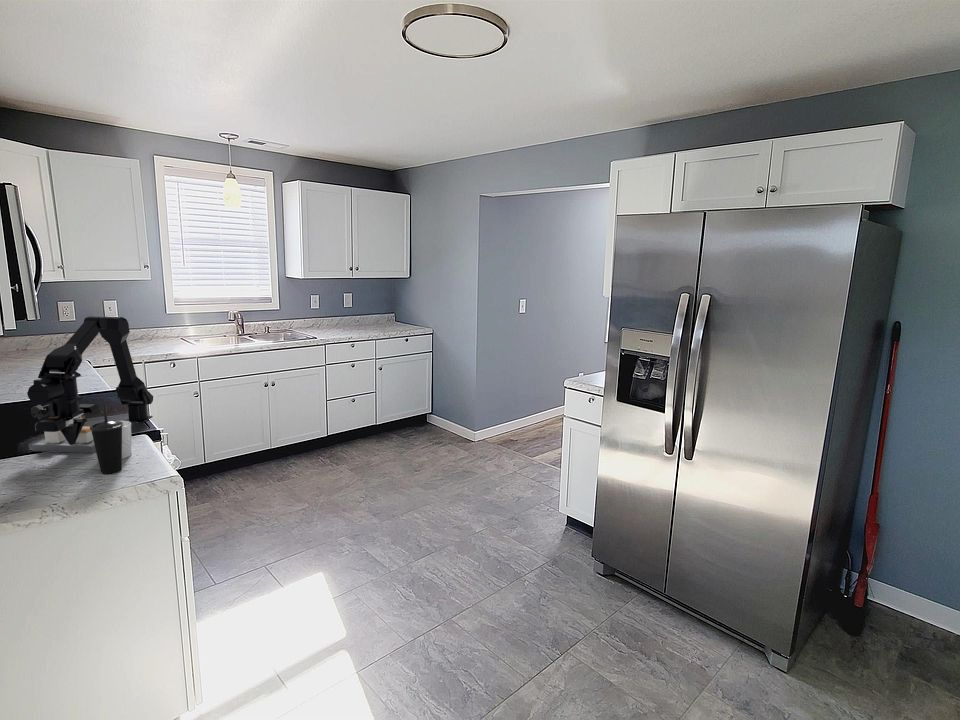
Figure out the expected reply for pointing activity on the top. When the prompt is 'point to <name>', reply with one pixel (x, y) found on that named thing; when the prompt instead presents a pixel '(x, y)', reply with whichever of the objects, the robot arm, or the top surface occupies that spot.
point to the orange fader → (85, 435)
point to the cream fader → (54, 437)
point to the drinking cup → (108, 444)
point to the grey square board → (64, 446)
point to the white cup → (126, 439)
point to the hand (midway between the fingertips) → (72, 444)
